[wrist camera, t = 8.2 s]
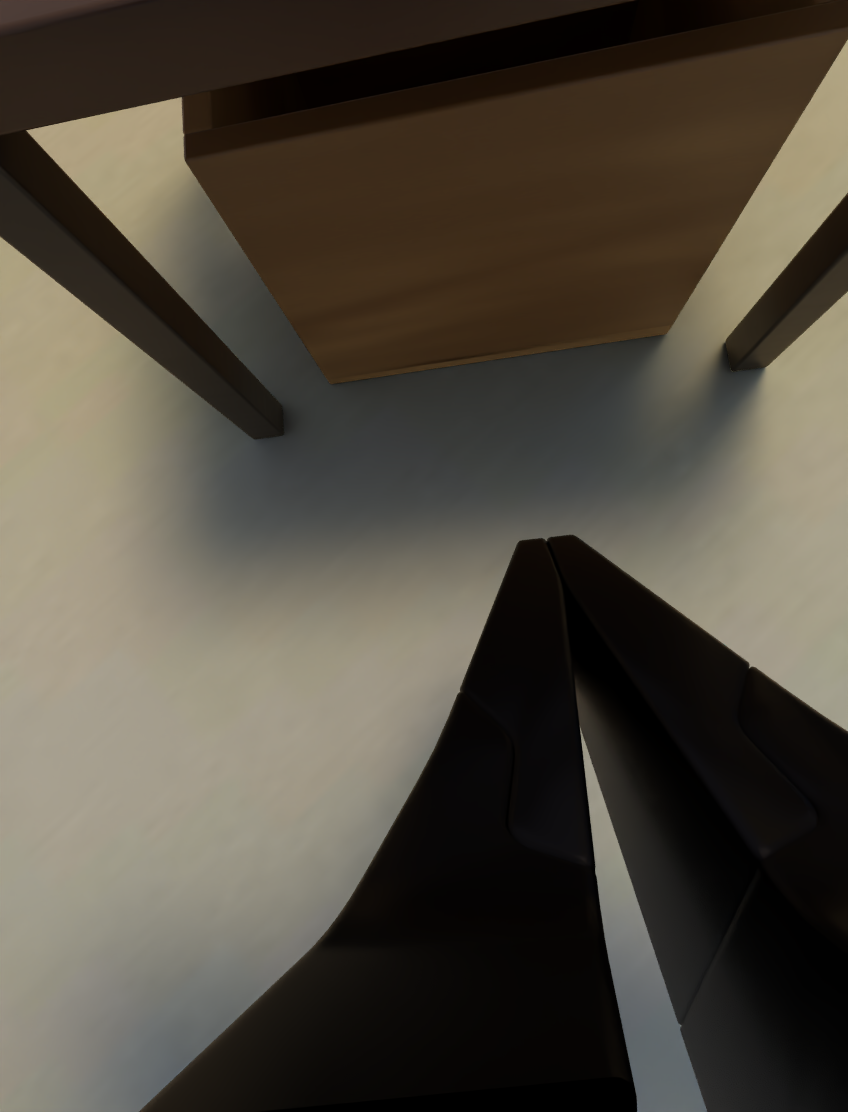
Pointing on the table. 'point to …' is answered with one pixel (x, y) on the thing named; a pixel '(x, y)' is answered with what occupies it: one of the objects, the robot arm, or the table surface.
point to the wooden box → (509, 177)
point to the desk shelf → (228, 60)
